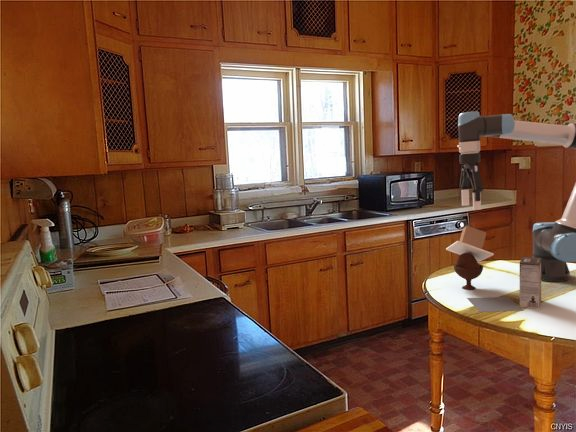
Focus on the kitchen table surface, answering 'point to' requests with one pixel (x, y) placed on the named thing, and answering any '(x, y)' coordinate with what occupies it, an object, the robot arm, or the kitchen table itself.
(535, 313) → the kitchen table surface
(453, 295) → the kitchen table surface
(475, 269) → the ice cream bowl
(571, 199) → the robot arm
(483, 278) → the kitchen table surface
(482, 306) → the mat
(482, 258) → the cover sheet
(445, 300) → the kitchen table surface
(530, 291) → the coffee box
